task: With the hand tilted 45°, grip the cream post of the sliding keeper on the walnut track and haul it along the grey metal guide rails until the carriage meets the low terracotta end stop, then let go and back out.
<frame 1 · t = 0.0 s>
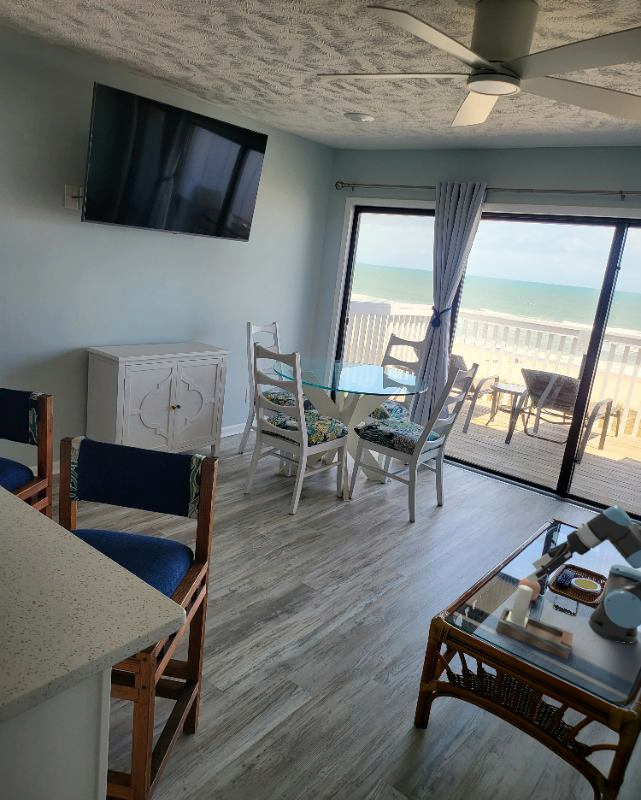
hand: (531, 573, 208), 15 cm above the table, tool tilted 35°, fingers open, 13 cm apart
phone: (565, 605, 225), on the table
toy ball: (526, 599, 223), on the table
keeper: (520, 605, 198), point 9 cm above the table, slide at 6.0 cm
track: (533, 636, 197), on the table
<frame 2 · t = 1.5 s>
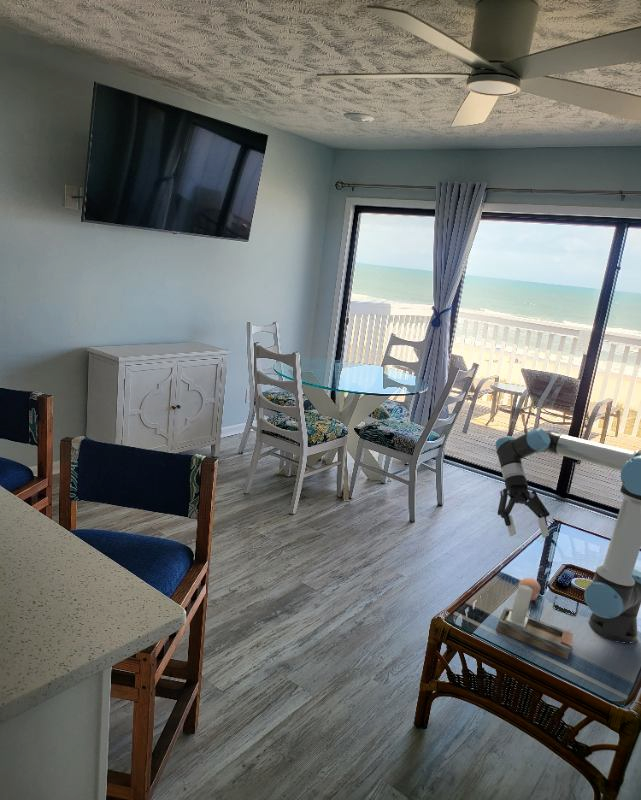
hand: (529, 535, 208), 27 cm above the table, tool tilted 45°, fingers open, 13 cm apart
nothing on the table moved.
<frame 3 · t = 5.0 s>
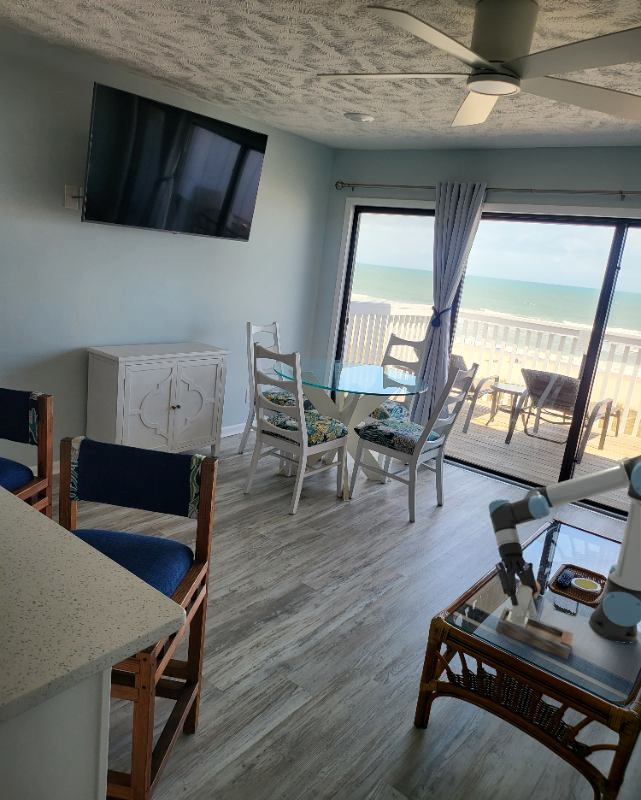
hand: (527, 616, 195), 7 cm above the table, tool tilted 45°, fingers closed on keeper, 4 cm apart
keeper: (520, 605, 198), point 9 cm above the table, slide at 6.0 cm, touching gripper
everything else where it was.
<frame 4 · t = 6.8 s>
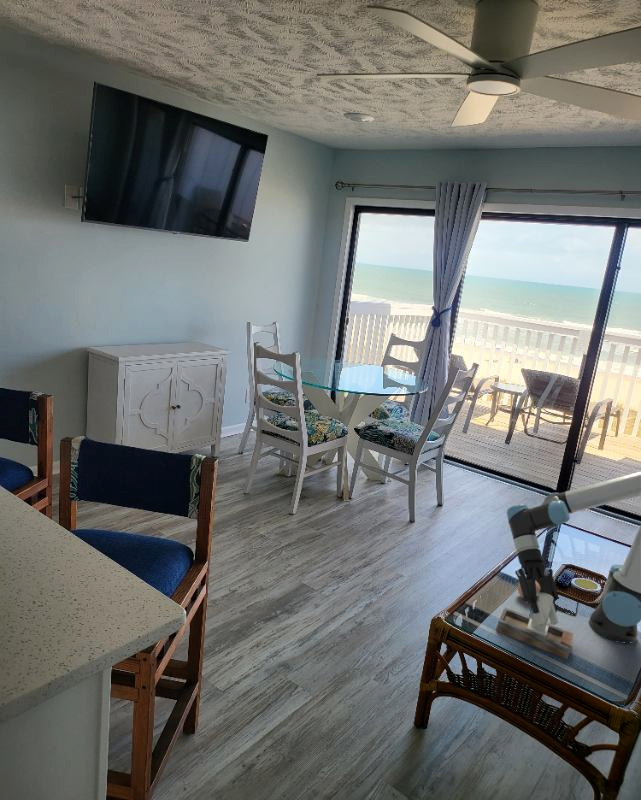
hand: (548, 623, 192), 7 cm above the table, tool tilted 45°, fingers closed on keeper, 4 cm apart
keeper: (541, 613, 195), point 9 cm above the table, slide at -0.5 cm, touching gripper
everything else where it was.
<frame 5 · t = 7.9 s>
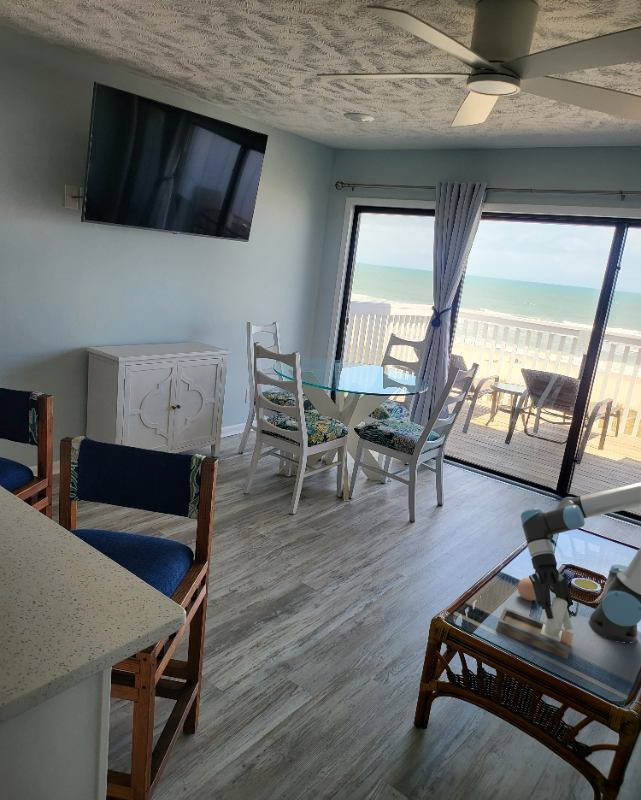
hand: (562, 629, 190), 7 cm above the table, tool tilted 45°, fingers closed on keeper, 4 cm apart
keeper: (555, 619, 193), point 9 cm above the table, slide at -4.8 cm, touching gripper
everything else where it was.
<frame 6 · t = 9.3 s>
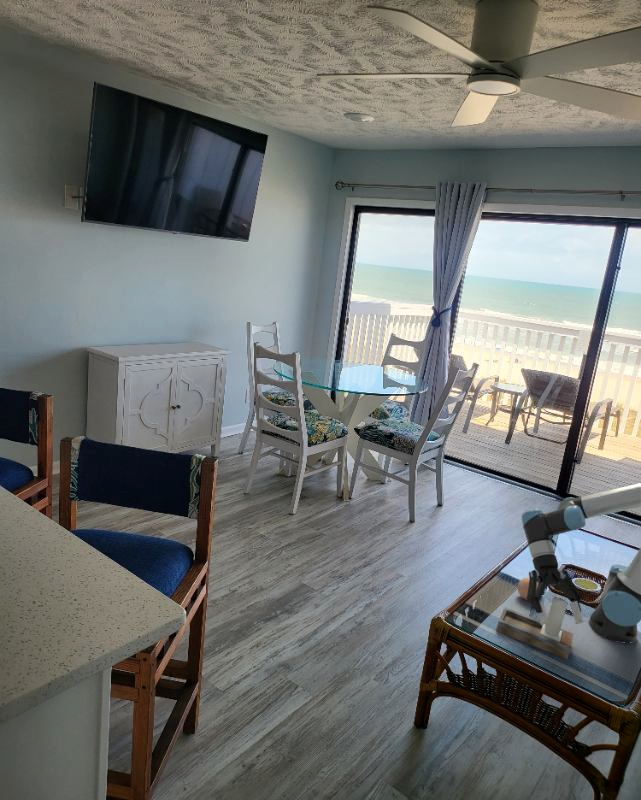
hand: (562, 623, 191), 9 cm above the table, tool tilted 45°, fingers open, 13 cm apart
keeper: (555, 618, 193), point 9 cm above the table, slide at -4.7 cm
everything else where it was.
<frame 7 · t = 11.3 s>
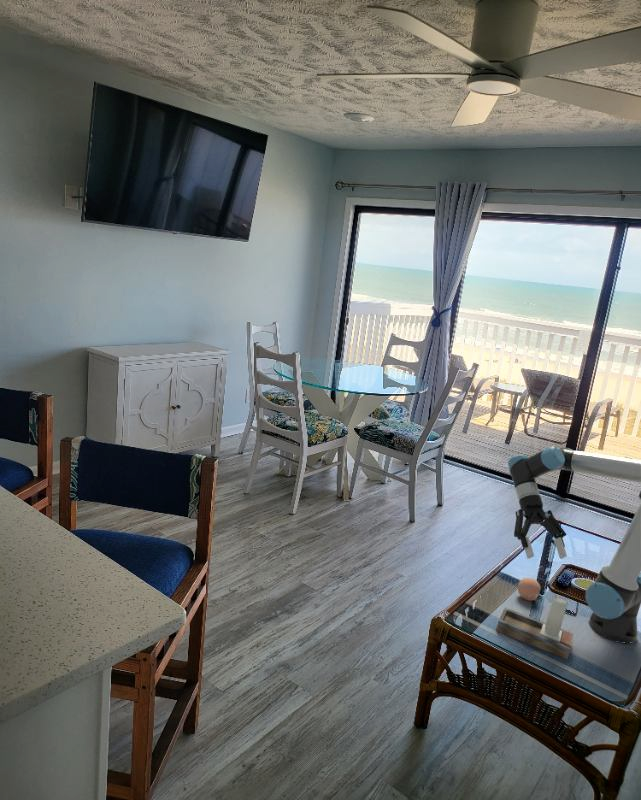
hand: (547, 557, 203), 23 cm above the table, tool tilted 45°, fingers open, 13 cm apart
nothing on the table moved.
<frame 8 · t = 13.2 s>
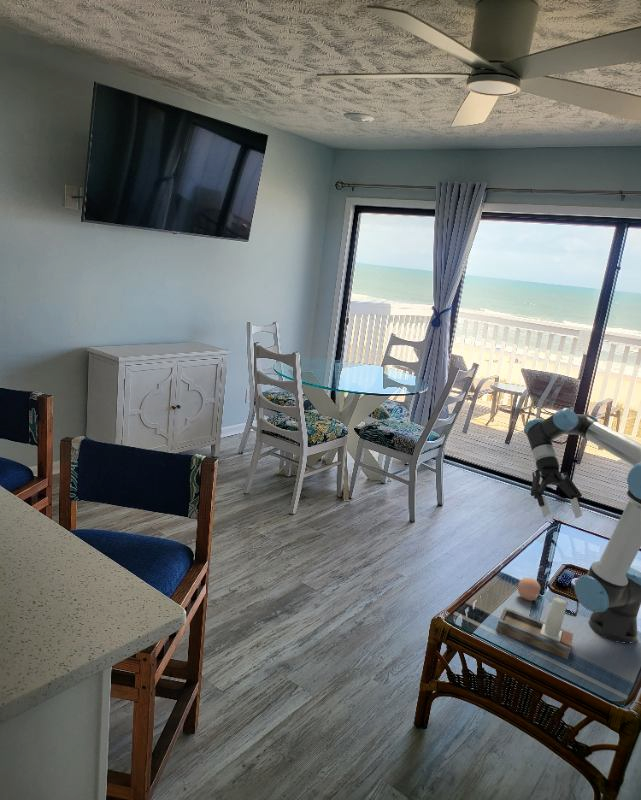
hand: (563, 516, 209), 36 cm above the table, tool tilted 45°, fingers open, 13 cm apart
nothing on the table moved.
at the end: keeper slide at -4.7 cm; the gripper is holding nothing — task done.
